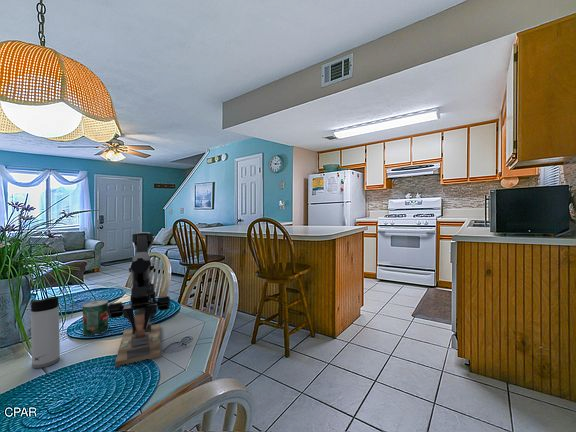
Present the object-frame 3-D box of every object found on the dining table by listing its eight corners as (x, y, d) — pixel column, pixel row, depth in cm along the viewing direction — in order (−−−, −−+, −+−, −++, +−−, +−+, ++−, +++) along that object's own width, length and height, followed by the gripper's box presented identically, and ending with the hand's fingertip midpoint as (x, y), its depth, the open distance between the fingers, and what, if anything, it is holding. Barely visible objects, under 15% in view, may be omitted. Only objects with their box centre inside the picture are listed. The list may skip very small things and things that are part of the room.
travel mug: (36, 371, 76) (34, 302, 76) (29, 364, 79) (27, 298, 79) (63, 360, 81) (62, 296, 81) (55, 354, 85) (54, 292, 84)
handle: (132, 340, 89) (131, 308, 89) (148, 336, 92) (148, 306, 91) (130, 346, 85) (130, 313, 85) (148, 343, 87) (147, 311, 87)
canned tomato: (111, 331, 102) (110, 302, 101) (85, 338, 96) (85, 308, 96) (105, 325, 107) (104, 298, 107) (80, 331, 101) (80, 303, 101)
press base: (124, 333, 99) (124, 323, 99) (159, 327, 104) (159, 317, 104) (115, 367, 78) (115, 354, 78) (160, 356, 83) (160, 344, 83)
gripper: (107, 279, 87) (101, 325, 78) (169, 273, 96) (171, 314, 86) (111, 296, 94) (107, 340, 85) (168, 289, 103) (170, 328, 93)
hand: (139, 330), depth 87 cm, fingers closed on handle, 3 cm apart
